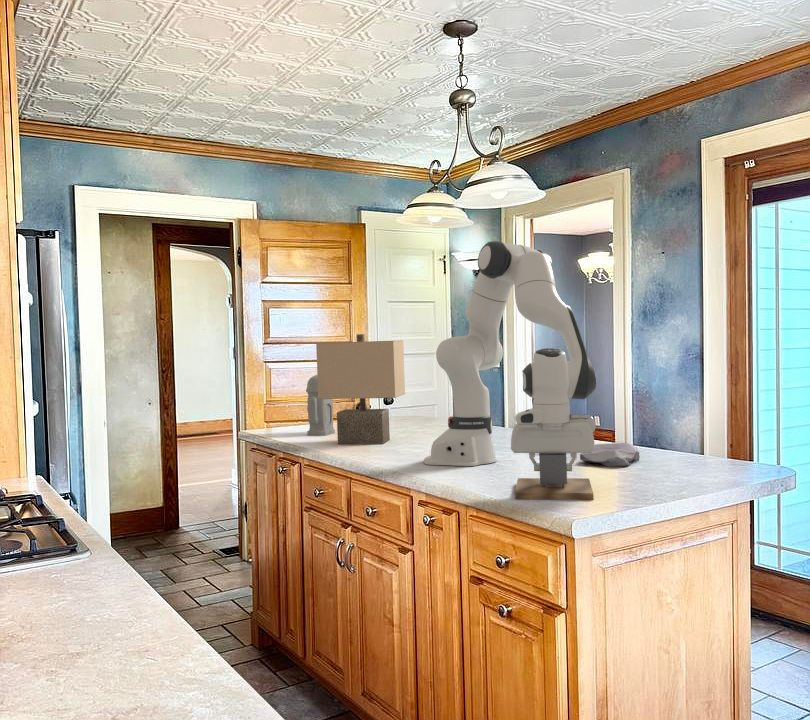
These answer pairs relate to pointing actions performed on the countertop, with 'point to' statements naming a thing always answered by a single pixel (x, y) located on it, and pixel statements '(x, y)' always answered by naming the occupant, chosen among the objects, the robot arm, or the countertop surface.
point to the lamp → (361, 384)
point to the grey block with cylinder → (553, 468)
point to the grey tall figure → (318, 411)
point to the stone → (612, 454)
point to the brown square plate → (554, 489)
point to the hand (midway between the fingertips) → (552, 470)
